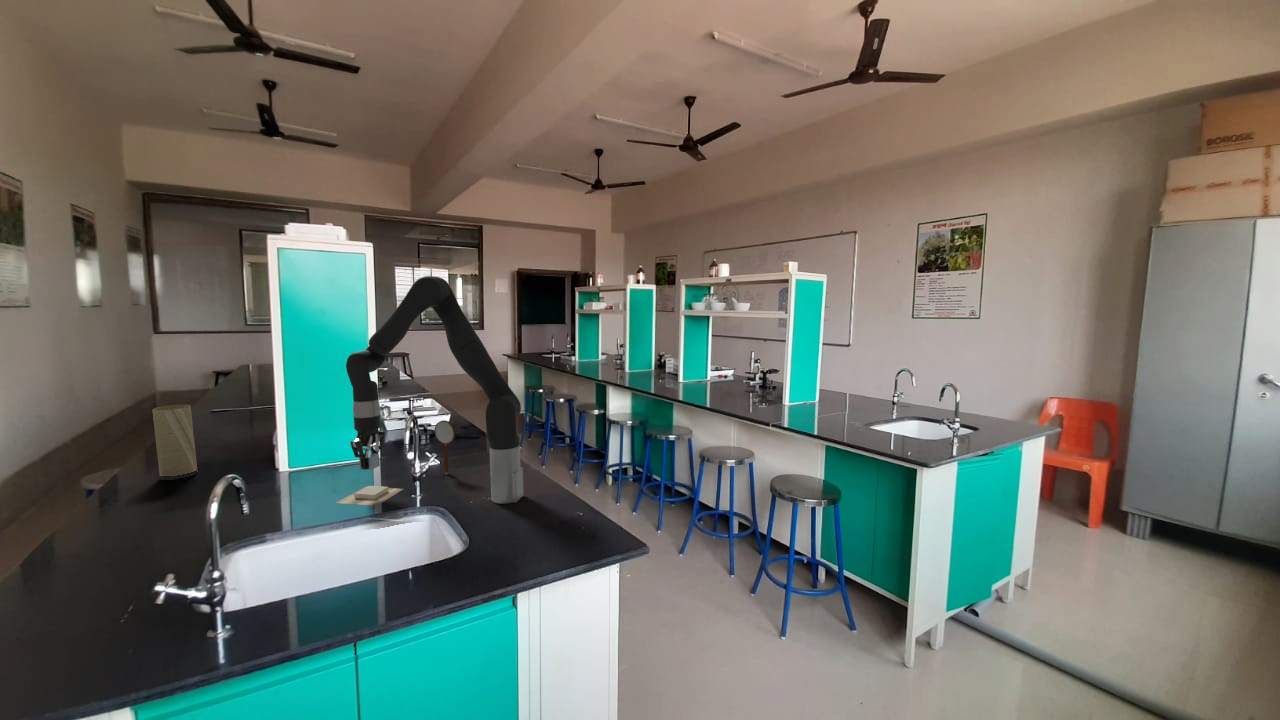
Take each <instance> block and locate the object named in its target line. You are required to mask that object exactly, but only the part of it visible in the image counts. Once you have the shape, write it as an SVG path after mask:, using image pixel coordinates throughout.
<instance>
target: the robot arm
mask: <svg viewBox="0 0 1280 720" xmlns="http://www.w3.org/2000/svg"><path fill="white" fill-rule="evenodd" d="M429 308H432V309H433V311H434V312H435V314H436V315H437V316H438V318H439V319H440V321H441V323H442V325H443V328H444V331H445V336H446V339H447V343H448V346H449V350H450V351H451V353H452V355H453V356H454V358H455V360H456V361H457V363H458V365H459V366H460V367H461V369H462V370H463V371H464V372H465V373H466V374H467V375H468V376H469V377H470V378H471V379H473V380H474V381H475V382H476V384H478V385H479V386H480V387H481V389H482V390H483V392H484V394H485V396H486V397H487V400H488V401H489V402H488V403H487V405H486V408H485V427H486V438H487V440H488V445H489V470H490V471H489V473H490V474H489V475H490V497H491V498H490V500H491V502H493V503H495V504H502V505H503V504H505V505H507V504H511V503H518V502H519V501H520V499H522V497H524V468H523V466H521V446H520V442H521V441H520V436H519V435H518V433H517V418H518V417H519V416H520V414H521V411H522V405H521V401H520V400H519V398H518V396H517V395H516V394H515V392H514V391H513V390H512V389H511V387H510V386H509V385H508V384H507V382H506V381H505V378H503V376H502V375H501V373H500V371H499V369H498V368H497V366H496V363H495V362H494V361H493V359H492V358H491V356H490V354H489V351H488V350H487V349H486V347H485V345H484V343H483V342H482V340H481V339H480V337H479V335H478V333H477V332H476V331H475V329H474V328H473V326H472V324H471V323H470V321H469V320H468V319H467V317H466V315H465V313H464V312H463V310H462V308H461V306H460V305H459V302H458V300H457V298H456V296H455V293H454V292H453V289H452V288H451V286H450V284H449V283H448V282H447V280H445V279H444V278H442V277H440V276H431V275H425V276H422V277H419V278H417V279H416V280H415V282H414V283H413V284H412V285H411V287H410V288H409V290H408V291H407V293H406V295H405V296H404V298H403V299H402V300H401V302H400V303H399V305H398V306H397V307H396V309H395V311H394V312H393V313H391V315H390V316H389V318H388V319H386V321H385V322H384V323H383V324H382V325H381V326H380V327H379V328H378V329H377V330H376V331H375V332H374V333H373V334H372V336H370V339H368V347H366V349H364V350H361V351H356V352H352V353H351V354H350V355H349V356H348V357H347V359H346V363H345V368H346V372H347V373H346V374H347V375H348V379H349V382H350V385H351V388H352V399H353V401H352V413H353V415H352V416H353V430H355V431H356V432H357V435H356V438H355V440H351V441H350V443H349V444H350V447H351V450H352V452H353V456H354V458H356V459H357V458H358V459H359V458H360V462H361V469H360V470H364V471H365V470H367V469H369V460H368V454H369V453H374V454H379V453H380V450H383V448H384V441H385V436H386V431H384V430H379V429H381V426H382V423H381V422H382V421H381V405H380V402H379V401H380V399H379V386H378V383H377V382H376V381H374V380H372V379H371V375H370V373H373V372H376V371H377V370H378V369H380V368H381V366H382V365H383V364H384V362H385V361H386V359H387V358H388V356H389V354H390V352H392V351H393V350H394V349H395V348H396V347H397V346H398V344H399V343H401V341H403V339H404V338H405V337H406V334H407V333H409V332H408V331H410V328H411V326H412V324H413V323H414V321H415V320H416V319H417V318H418V317H419V316H420V315H421V314H422V313H425V311H426V310H427V309H429ZM360 462H359V463H360Z"/></svg>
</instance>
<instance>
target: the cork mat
mask: <svg viewBox="0 0 1280 720" xmlns="http://www.w3.org/2000/svg"><path fill="white" fill-rule="evenodd" d="M365 487H366V486H364V487H362V488H360V489H359V490H356V491H355V492H353V493H351V494H349V495H347V496H346V497H344V498H342V499H340V500H338V501H336V502H335V504H341V505H342V504H343V505H359V506H372V507H373V506H375V507H377V506H379V505H380V504H382V503H384V502H385V501H387V500H388V499H390V498H392V497H393V496H395V495H397V494H399V492H401V491H403V490H404V488H395V487H394V488H393V487H388V488H389V491H388V492H387V493H385V494H383V495H381V496H380V497H378V498H376V499H375V500H374V499H358V498H354V493H356V492H358V491H360V490H362V489H364V488H365Z"/></svg>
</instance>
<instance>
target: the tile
mask: <svg viewBox="0 0 1280 720" xmlns="http://www.w3.org/2000/svg"><path fill="white" fill-rule="evenodd" d="M364 487H365V488H364ZM364 487H363V488H364V489H362V488H361V489H362V490H360V489H359V490H360V491H358V490H357V491H358V492H356V491H355V492H356V493H355V492H353V493H354V498H358V499H374V500H375V499H376V498H378V497H380V496H381V495H383V494H385V493H387V492H388V491H389V488H390V487H389V486H383V485H381V486H377V485H367V486H364Z"/></svg>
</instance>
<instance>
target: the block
mask: <svg viewBox="0 0 1280 720" xmlns="http://www.w3.org/2000/svg"><path fill="white" fill-rule="evenodd" d="M358 459H359V470H362V469H361V462H360V458H358ZM368 460H369V469H367V470H368V471H369V470H370V471H372V470H374V469H376V468H378V467H380V454H379V453H378V454H374V453H371V452H369V454H368Z"/></svg>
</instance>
